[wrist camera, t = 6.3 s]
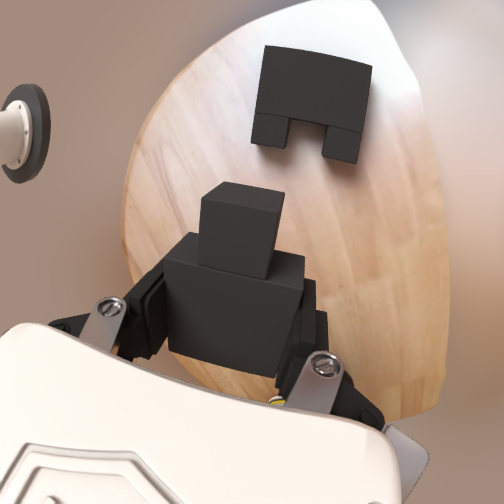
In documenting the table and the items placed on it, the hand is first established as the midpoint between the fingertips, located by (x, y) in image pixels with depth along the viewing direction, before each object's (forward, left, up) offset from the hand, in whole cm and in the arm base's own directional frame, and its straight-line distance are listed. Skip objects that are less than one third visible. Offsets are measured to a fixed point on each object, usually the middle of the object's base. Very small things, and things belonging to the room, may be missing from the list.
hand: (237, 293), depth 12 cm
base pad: (+2, +10, -18) cm, 21 cm away
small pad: (0, +1, 0) cm, 1 cm away
